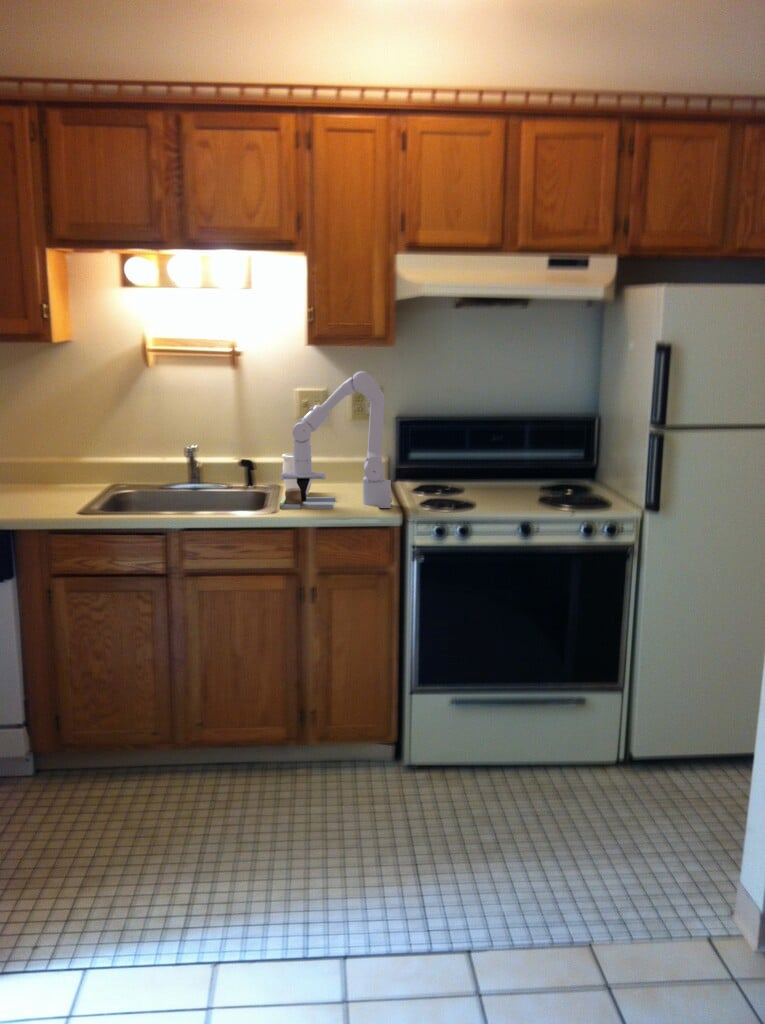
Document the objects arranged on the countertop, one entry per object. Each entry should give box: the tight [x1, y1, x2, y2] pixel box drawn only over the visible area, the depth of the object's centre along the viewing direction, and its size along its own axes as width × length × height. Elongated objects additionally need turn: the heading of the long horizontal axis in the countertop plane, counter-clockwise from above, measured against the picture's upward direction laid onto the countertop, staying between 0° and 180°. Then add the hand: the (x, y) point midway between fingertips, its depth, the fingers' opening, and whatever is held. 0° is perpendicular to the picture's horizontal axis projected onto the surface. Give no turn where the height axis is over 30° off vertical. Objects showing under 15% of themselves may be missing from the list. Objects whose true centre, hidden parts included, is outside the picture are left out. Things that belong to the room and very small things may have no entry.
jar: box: [281, 451, 314, 496], centre depth 295 cm, size 11×10×15 cm
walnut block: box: [284, 488, 303, 506], centre depth 277 cm, size 5×5×5 cm
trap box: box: [279, 494, 336, 510], centre depth 277 cm, size 17×12×3 cm
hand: (304, 501), depth 277 cm, fingers closed, pressing on walnut block
